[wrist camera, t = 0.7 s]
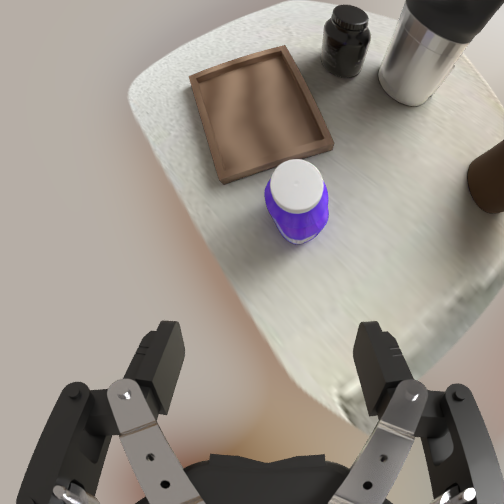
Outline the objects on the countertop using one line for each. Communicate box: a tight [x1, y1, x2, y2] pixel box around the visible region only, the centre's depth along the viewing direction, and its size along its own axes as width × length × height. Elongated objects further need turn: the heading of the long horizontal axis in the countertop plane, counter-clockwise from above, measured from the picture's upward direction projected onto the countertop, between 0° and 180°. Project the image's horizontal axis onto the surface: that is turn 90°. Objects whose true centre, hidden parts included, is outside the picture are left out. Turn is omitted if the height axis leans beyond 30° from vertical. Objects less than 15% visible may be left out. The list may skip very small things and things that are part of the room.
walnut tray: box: [189, 45, 334, 184], centre depth 38 cm, size 16×19×2 cm
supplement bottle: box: [321, 5, 371, 77], centre depth 31 cm, size 7×7×12 cm
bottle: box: [264, 159, 329, 244], centre depth 29 cm, size 7×6×17 cm
